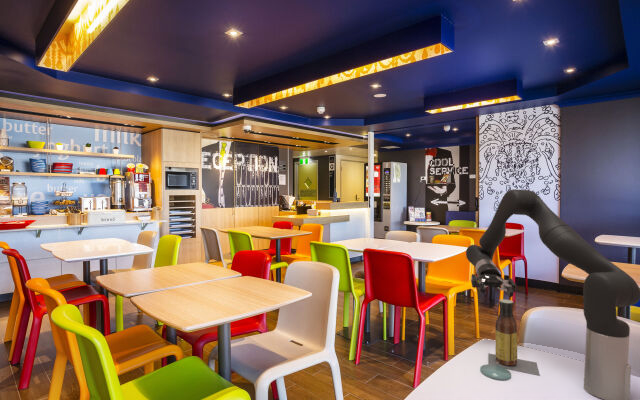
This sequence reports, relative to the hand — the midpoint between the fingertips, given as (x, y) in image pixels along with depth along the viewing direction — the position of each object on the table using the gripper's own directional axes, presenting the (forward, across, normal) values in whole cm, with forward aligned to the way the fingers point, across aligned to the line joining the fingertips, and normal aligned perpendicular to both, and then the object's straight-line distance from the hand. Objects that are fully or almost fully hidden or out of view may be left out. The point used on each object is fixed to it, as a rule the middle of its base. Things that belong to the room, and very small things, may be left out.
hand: (497, 293), depth 124 cm
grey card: (+13, +4, +17) cm, 22 cm away
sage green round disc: (+20, -3, +16) cm, 26 cm away
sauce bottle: (+12, +2, +18) cm, 22 cm away
